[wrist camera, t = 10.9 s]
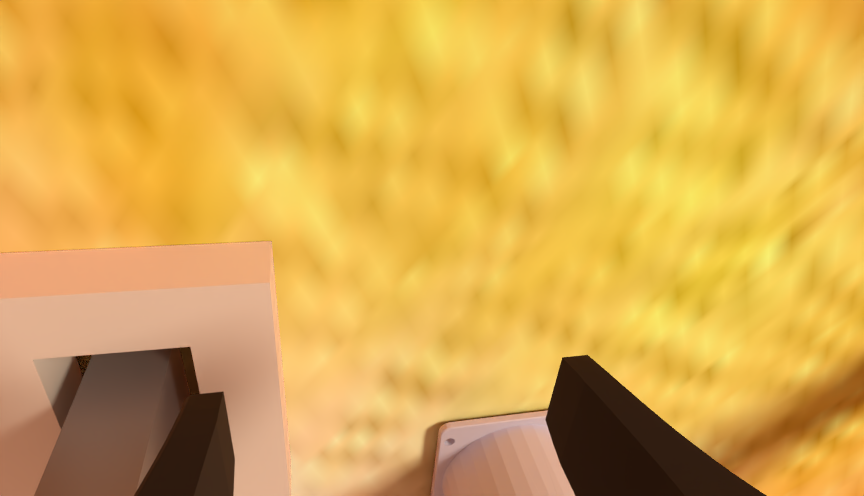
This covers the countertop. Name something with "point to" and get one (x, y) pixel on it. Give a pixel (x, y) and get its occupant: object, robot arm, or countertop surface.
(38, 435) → the socket block
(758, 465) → the countertop surface
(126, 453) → the key peg
